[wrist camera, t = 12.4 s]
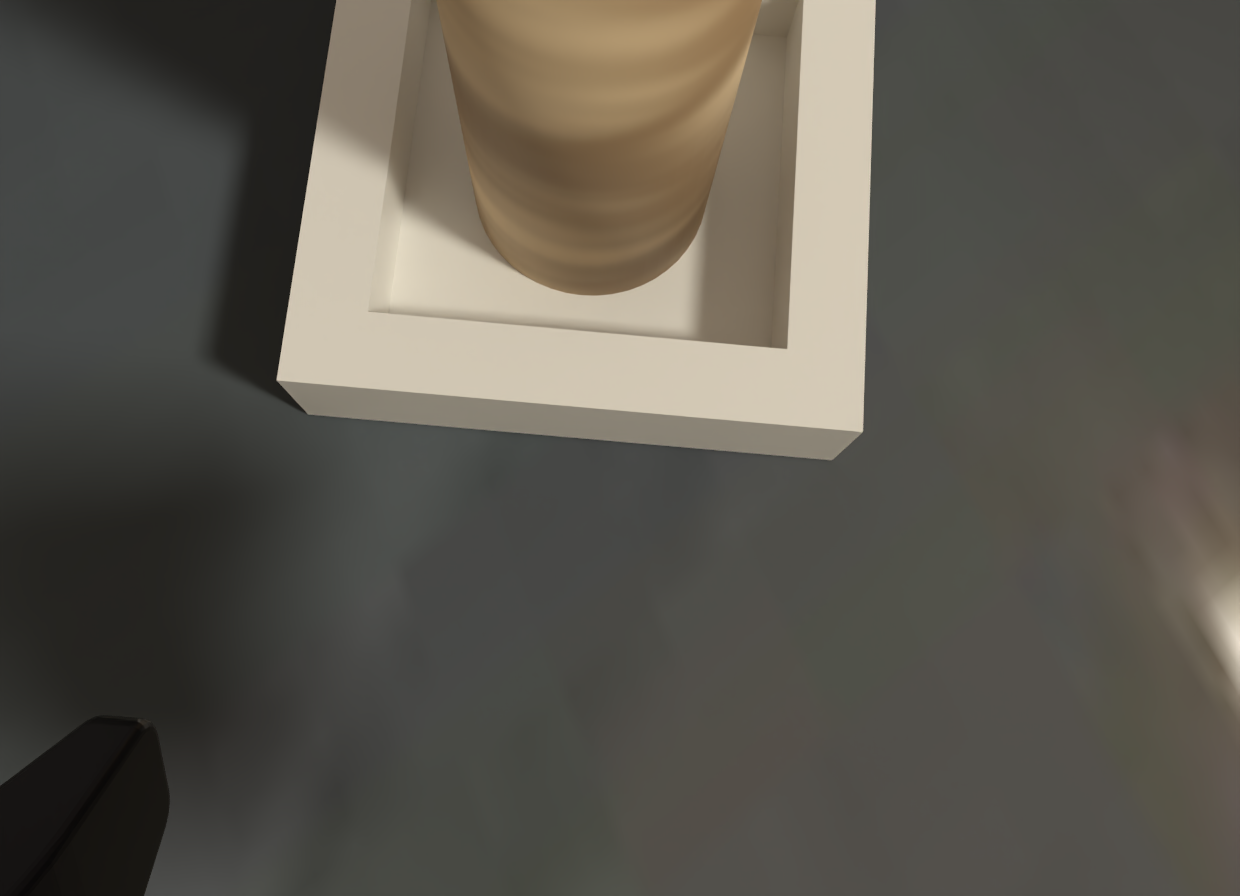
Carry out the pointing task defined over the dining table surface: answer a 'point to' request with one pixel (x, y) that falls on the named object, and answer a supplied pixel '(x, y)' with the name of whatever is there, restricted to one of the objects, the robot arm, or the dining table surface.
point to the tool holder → (583, 324)
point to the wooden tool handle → (594, 128)
